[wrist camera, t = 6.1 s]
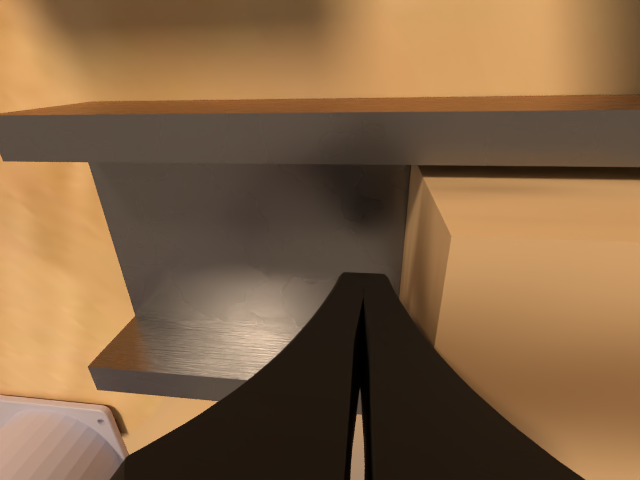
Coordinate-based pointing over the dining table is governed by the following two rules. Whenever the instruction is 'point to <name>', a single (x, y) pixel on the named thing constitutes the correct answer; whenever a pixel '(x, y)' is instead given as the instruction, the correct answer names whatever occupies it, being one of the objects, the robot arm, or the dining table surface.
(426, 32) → the dining table surface
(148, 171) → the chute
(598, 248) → the oak block
